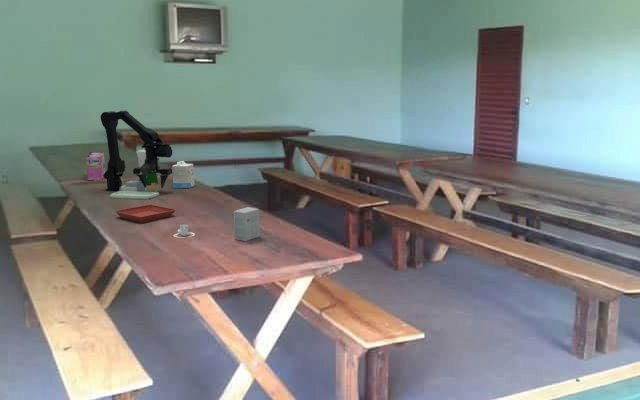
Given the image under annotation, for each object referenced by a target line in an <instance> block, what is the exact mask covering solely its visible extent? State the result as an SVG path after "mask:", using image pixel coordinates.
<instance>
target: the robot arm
mask: <svg viewBox="0 0 640 400" xmlns="http://www.w3.org/2000/svg"><path fill="white" fill-rule="evenodd" d="M119 120H121V121H122V122H124V123H125V124H126V125H128V127H130V128H131V129H132V130H133V131H134V132H136V133H137V134H138V135H139V138H140V139H141V141H142V142H143V144H142V145H141V149H144V150H145V151H146V159H145V163H144V164H143V165H142V166H141V167H139V166H136V167H134V168H133V169H132V170H133V171H132V172H133V175H135V176H136V177H138V178H139V177H140V179H141V181H142V183H143V185H144V188H146V189H147V186H148V185H147V180H146V174H150V173H157V174H160V175H159V178H160V186H161V189H163V188H164V186H165V184H166V181H167V178H168V177H169V176H170V175H172V174H173V170H172V167H162V168H161V166H159V161H160V158H167V159H168V158H171V157H172V156H173V149H172V147H171V146H170V145H171V144H170V143H164V142H163V141H162V139H161V138H160V136H159V133H158V132H157V131H155V130H153V129H152V128H149V127H147V126H145V125H144V124H142V123H141V122H140V121H139V120H138V119H136V118H135V117H134V116H133V115H132V114H130V112H129V111H127V110H119V111H115V110H112V111H103V112H102V113H101V114H100V121H101V125H102V127H103V128H104V129H105V133H106V141H107V148H108V157H109V159H108V162H107V170H105V173H104V175H103V176H104V178H103V179H105V180H106V187H107V188H106V189H105V191H114V192H115V191H116V192H118V191H120V187H121V186H123V181H122V177H123V175H124V172H126V161H125V159H123V160H122V158H121V156H120V151H119V150H120V149H119V142H118V134H117V127H118V125H119Z"/></svg>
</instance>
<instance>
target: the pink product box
mask: <svg viewBox="0 0 640 400" xmlns="http://www.w3.org/2000/svg"><path fill="white" fill-rule="evenodd" d="M85 160H86V161H85V162H86V175H87V181H88V180H102V179H103V180H104V179H105V178H104V176H103V175H104V173H105V172H106V164H105V163H106V162H105V154H104V151H101V152H93V151H90V152H89V153H88V154H87V155H86V157H85ZM103 180H102V181H103Z"/></svg>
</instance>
